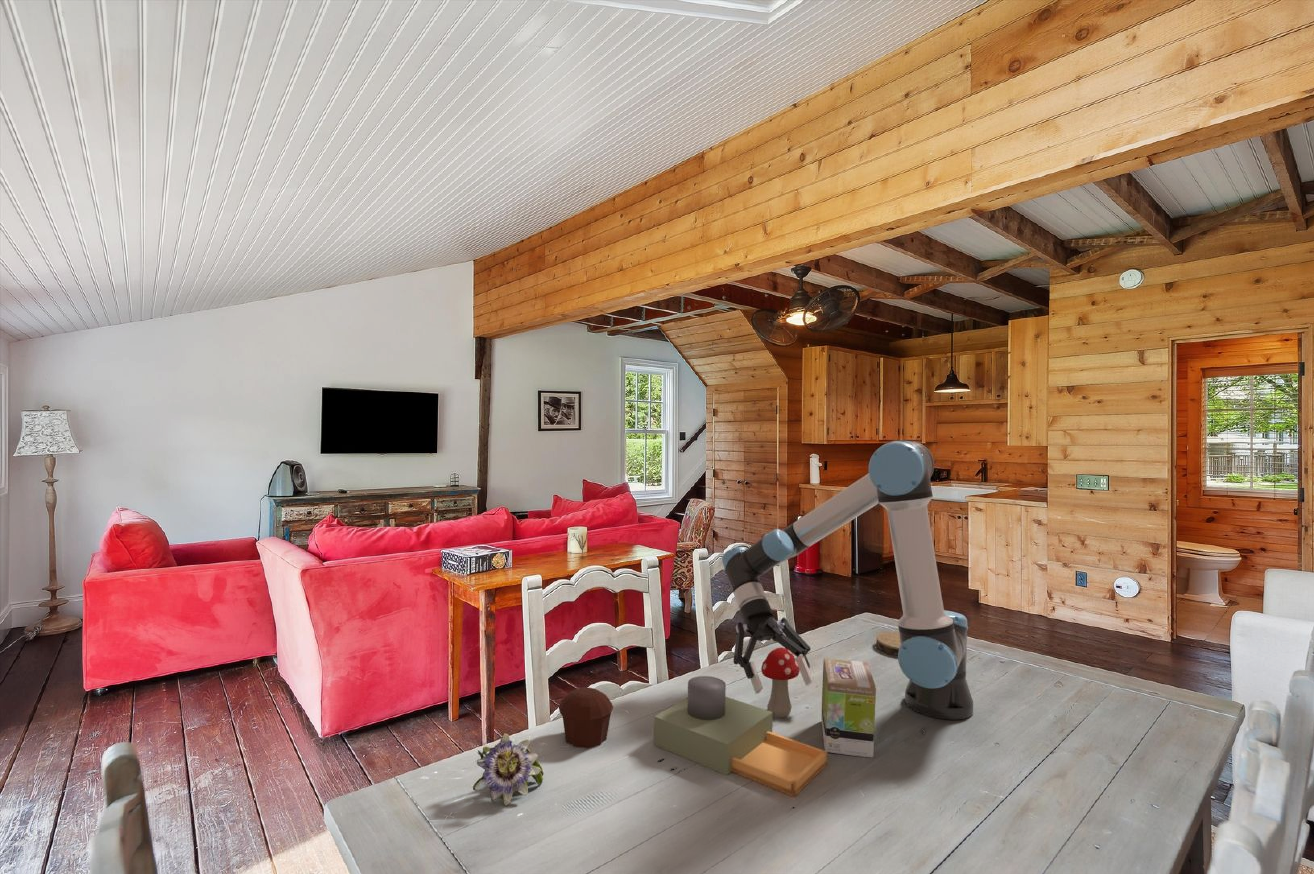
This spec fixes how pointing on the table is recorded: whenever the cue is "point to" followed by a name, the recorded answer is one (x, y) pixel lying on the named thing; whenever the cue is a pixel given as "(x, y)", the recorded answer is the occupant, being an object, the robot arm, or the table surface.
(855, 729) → the tea box
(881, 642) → the wood slice
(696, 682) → the green drawer box
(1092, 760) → the table surface
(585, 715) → the muffin
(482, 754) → the passion flower
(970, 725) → the table surface
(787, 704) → the decorative mushroom
